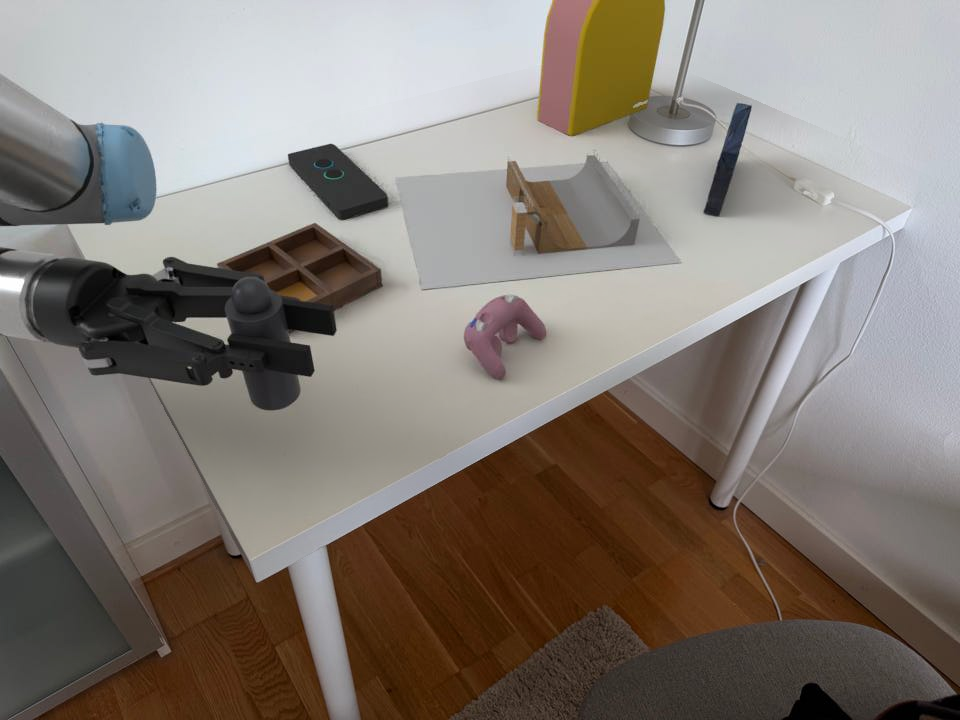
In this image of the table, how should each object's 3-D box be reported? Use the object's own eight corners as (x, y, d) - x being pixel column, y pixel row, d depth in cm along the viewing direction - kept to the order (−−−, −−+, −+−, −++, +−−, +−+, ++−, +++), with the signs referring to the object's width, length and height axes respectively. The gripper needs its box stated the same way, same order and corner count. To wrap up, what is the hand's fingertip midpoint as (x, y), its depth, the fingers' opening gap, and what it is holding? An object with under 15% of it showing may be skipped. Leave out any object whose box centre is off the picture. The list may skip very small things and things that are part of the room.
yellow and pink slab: (612, 91, 135) (637, -63, 117) (648, 107, 130) (680, -53, 112) (535, 118, 124) (548, -46, 106) (571, 136, 119) (591, -34, 101)
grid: (283, 336, 79) (279, 318, 77) (221, 280, 87) (216, 263, 85) (382, 286, 87) (381, 269, 85) (317, 238, 94) (315, 222, 92)
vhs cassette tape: (719, 217, 101) (738, 154, 94) (699, 213, 102) (717, 150, 95) (737, 164, 113) (755, 105, 107) (719, 161, 114) (736, 102, 107)
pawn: (266, 418, 59) (236, 305, 51) (240, 391, 61) (207, 279, 53) (310, 394, 61) (287, 281, 53) (283, 368, 63) (257, 257, 55)
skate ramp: (681, 262, 92) (694, 213, 87) (422, 289, 86) (420, 238, 81) (607, 161, 113) (614, 116, 108) (395, 177, 107) (392, 131, 102)
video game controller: (521, 334, 83) (502, 283, 80) (551, 335, 80) (533, 281, 77) (473, 380, 77) (450, 326, 74) (504, 383, 74) (481, 327, 71)
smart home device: (333, 141, 112) (390, 195, 100) (334, 151, 113) (391, 205, 101) (284, 153, 108) (337, 210, 96) (286, 163, 110) (338, 221, 97)
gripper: (133, 277, 67) (361, 311, 64) (10, 403, 55) (287, 452, 52) (107, 210, 62) (353, 243, 59) (-35, 331, 50) (269, 380, 47)
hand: (321, 340), depth 56 cm, fingers closed on pawn, 4 cm apart
